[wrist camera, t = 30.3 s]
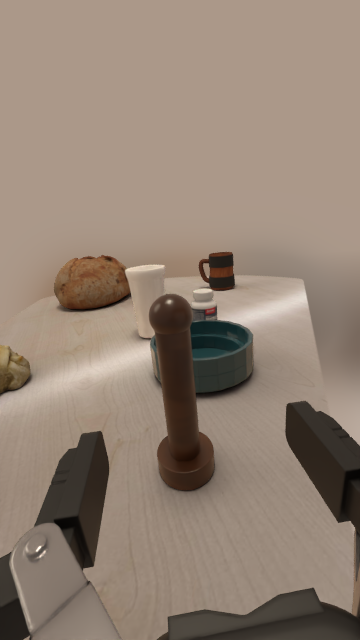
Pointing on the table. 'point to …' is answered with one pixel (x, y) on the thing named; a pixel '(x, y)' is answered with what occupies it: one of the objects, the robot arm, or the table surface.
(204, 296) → the pill bottle
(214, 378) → the bowl
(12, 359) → the pastry
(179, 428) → the pestle
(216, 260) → the mug
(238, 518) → the table surface
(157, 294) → the cup
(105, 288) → the bread
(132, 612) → the table surface
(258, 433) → the table surface
